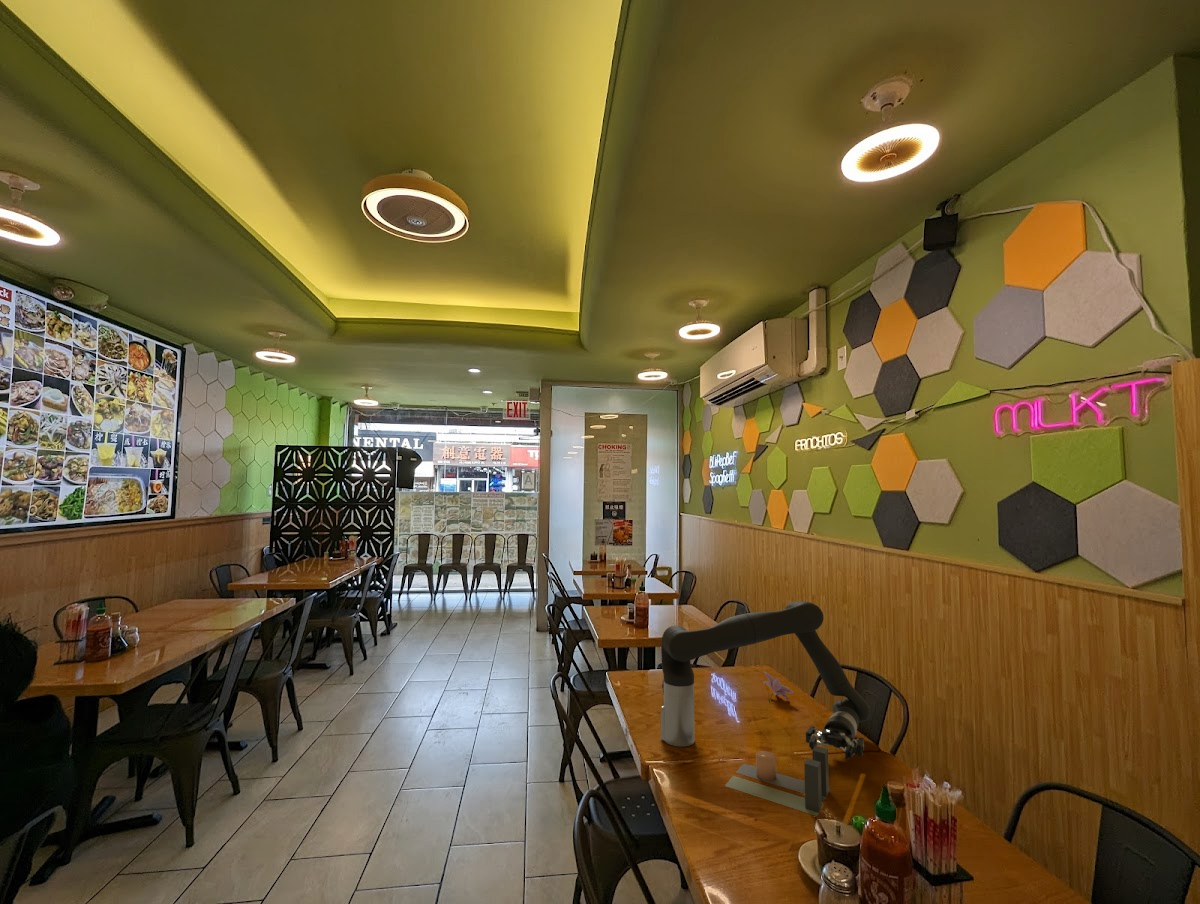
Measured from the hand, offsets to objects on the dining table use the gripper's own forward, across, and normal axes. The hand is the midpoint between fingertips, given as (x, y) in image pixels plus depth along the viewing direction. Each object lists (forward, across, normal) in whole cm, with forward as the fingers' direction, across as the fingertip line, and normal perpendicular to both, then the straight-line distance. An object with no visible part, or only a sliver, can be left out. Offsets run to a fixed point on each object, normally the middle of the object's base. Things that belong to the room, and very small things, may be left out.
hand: (829, 750), depth 140 cm
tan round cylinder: (+10, -14, +6) cm, 18 cm away
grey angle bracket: (+18, -10, +7) cm, 22 cm away
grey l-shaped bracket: (+10, -10, +7) cm, 16 cm away
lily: (-49, -28, +8) cm, 56 cm away
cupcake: (-26, -57, +8) cm, 64 cm away
